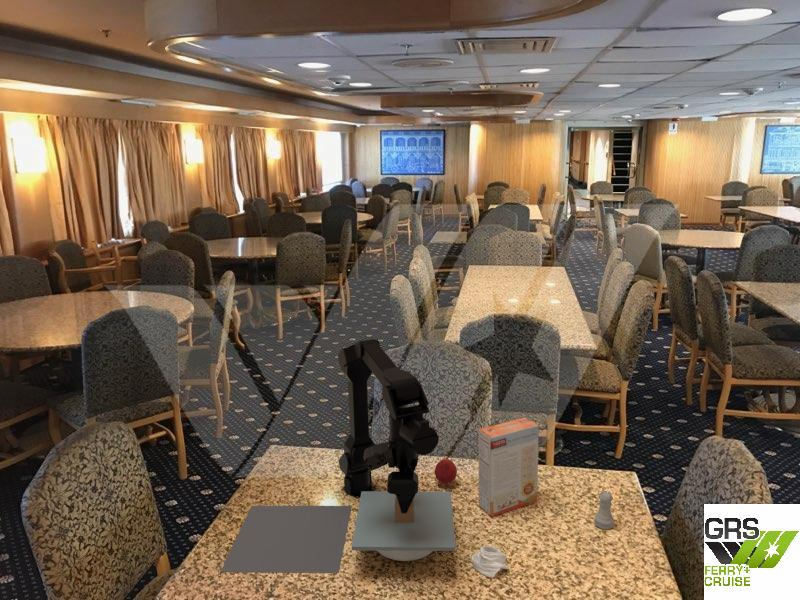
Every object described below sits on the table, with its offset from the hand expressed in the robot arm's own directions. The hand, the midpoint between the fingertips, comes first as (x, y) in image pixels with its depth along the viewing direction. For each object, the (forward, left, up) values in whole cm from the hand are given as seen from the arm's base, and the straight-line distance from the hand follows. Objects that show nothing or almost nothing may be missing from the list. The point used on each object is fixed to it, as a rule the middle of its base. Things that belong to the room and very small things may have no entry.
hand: (404, 500), depth 136 cm
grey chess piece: (-39, +26, -12) cm, 48 cm away
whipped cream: (-9, +17, -12) cm, 22 cm away
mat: (+16, -21, -12) cm, 29 cm away
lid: (0, 0, -5) cm, 5 cm away
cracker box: (-30, +5, -12) cm, 33 cm away
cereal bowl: (0, 0, -12) cm, 12 cm away
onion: (-26, -12, -12) cm, 31 cm away
